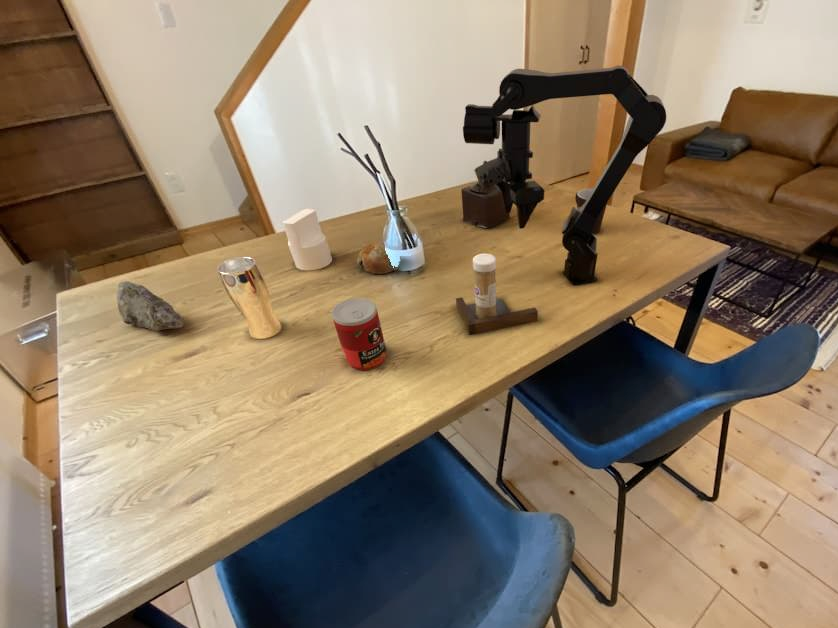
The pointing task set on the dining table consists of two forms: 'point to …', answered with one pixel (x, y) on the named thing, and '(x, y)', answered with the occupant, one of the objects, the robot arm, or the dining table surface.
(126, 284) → the mineral rock
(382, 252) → the bread roll
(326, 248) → the base with upright slab
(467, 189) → the brown coffee grinder
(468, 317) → the corner guide
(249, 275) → the beer glass
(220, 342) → the dining table surface
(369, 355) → the canned food
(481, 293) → the sprinkles bottle
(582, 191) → the coffee mug
